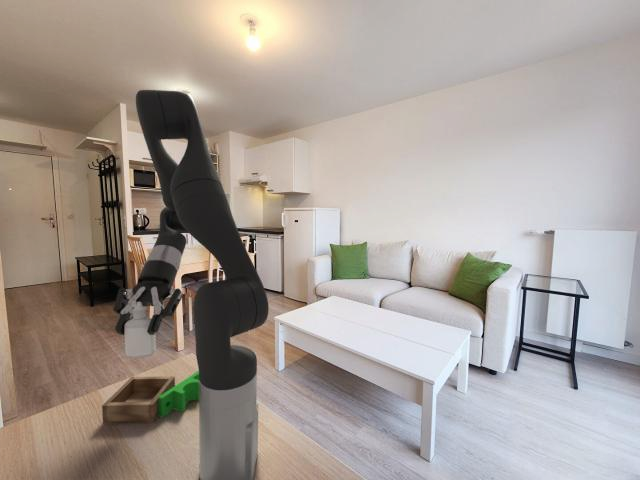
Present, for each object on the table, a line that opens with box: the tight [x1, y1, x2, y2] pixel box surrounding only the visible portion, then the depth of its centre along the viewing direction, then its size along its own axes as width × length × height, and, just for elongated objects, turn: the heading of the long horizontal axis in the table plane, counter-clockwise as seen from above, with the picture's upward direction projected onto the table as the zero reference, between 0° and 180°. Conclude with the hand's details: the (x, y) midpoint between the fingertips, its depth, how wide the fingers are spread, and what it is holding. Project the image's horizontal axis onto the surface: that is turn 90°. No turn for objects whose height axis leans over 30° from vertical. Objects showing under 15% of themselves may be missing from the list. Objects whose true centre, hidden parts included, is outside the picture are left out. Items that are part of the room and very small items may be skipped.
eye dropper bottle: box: [124, 302, 157, 360], centre depth 61 cm, size 4×6×12 cm
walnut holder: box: [101, 375, 176, 425], centre depth 62 cm, size 10×10×4 cm
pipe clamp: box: [158, 370, 199, 418], centre depth 64 cm, size 11×4×5 cm, turn 158°
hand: (135, 333), depth 59 cm, fingers closed on eye dropper bottle, 5 cm apart
